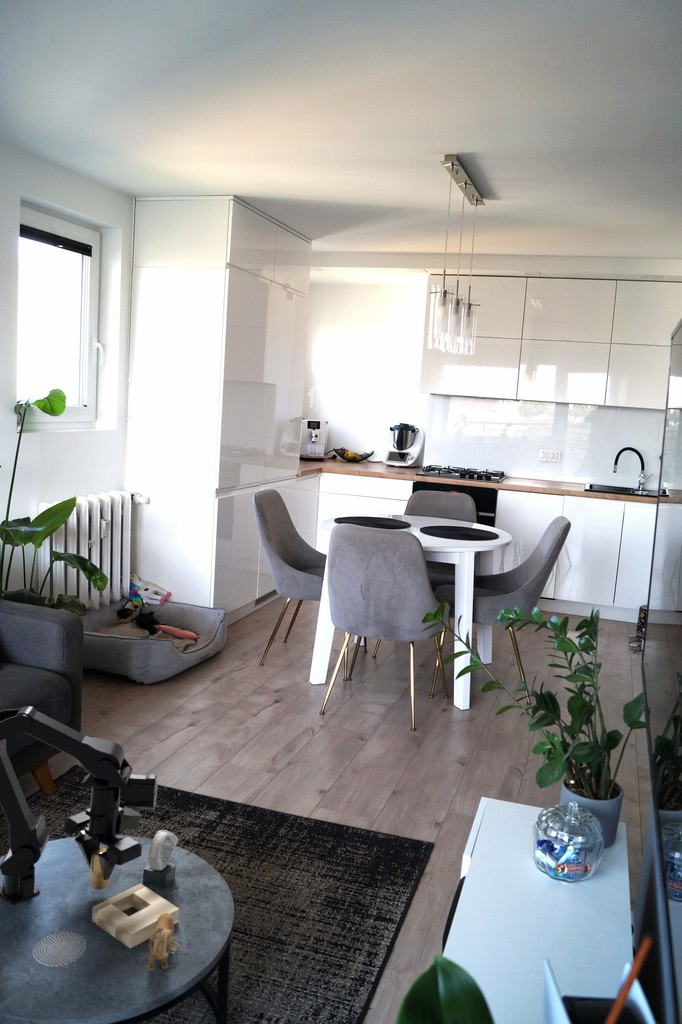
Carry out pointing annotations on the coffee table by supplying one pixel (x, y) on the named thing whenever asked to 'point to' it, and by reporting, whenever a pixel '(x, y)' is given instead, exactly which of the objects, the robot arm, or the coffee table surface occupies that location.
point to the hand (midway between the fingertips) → (99, 875)
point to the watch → (160, 860)
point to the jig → (136, 925)
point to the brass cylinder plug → (97, 871)
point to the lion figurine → (162, 941)
